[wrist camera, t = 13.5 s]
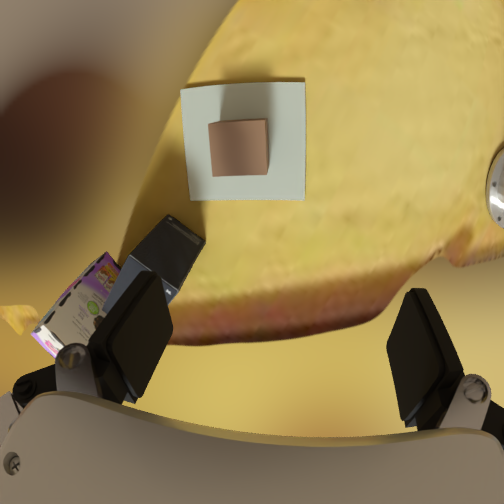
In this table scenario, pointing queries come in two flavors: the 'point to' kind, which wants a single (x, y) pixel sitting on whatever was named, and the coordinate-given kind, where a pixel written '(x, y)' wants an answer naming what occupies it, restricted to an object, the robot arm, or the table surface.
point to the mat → (247, 107)
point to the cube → (239, 147)
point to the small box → (160, 259)
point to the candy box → (78, 307)
